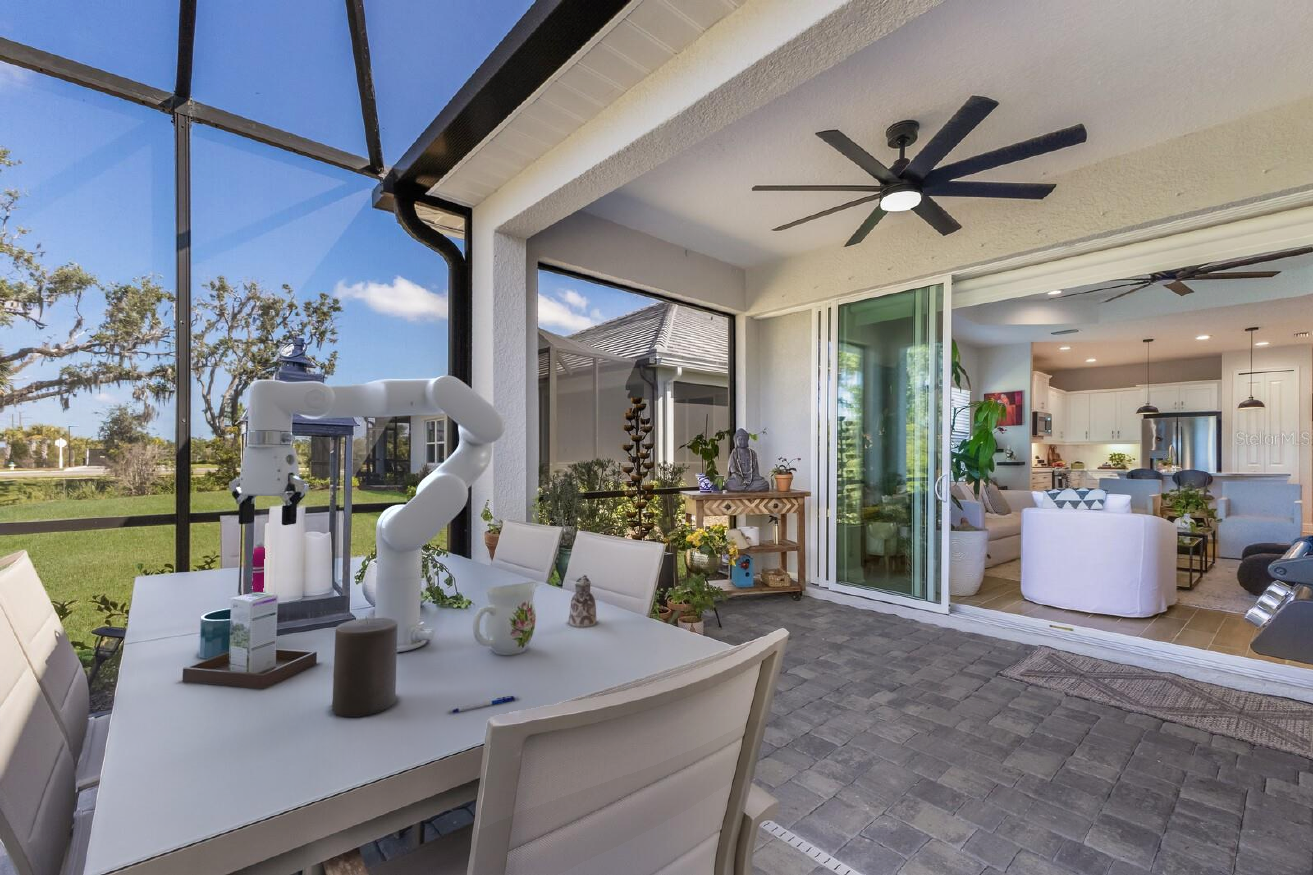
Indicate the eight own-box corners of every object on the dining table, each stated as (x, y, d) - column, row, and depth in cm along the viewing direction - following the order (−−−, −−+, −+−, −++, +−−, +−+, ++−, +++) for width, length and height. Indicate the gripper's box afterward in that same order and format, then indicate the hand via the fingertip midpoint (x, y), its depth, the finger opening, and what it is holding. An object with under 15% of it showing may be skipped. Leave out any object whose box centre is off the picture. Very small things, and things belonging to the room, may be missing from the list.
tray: (316, 664, 117) (317, 651, 117) (262, 689, 104) (263, 675, 104) (243, 658, 120) (244, 646, 120) (182, 681, 107) (182, 668, 107)
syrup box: (277, 666, 114) (280, 593, 114) (247, 677, 108) (250, 599, 109) (256, 663, 116) (259, 590, 116) (226, 673, 110) (229, 597, 111)
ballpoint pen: (513, 699, 102) (513, 693, 102) (515, 701, 101) (515, 695, 101) (452, 712, 96) (452, 706, 96) (453, 714, 96) (454, 709, 96)
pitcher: (456, 657, 122) (458, 592, 123) (519, 636, 137) (521, 578, 138) (490, 668, 116) (492, 600, 117) (553, 645, 131) (554, 585, 132)
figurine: (565, 625, 147) (566, 578, 147) (573, 618, 154) (574, 573, 154) (591, 627, 146) (592, 580, 146) (599, 620, 153) (600, 574, 153)
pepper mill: (256, 622, 145) (260, 543, 146) (233, 620, 147) (236, 542, 148) (280, 615, 152) (283, 539, 153) (258, 613, 154) (261, 538, 155)
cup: (275, 644, 129) (277, 608, 129) (231, 661, 118) (232, 622, 118) (232, 641, 131) (234, 605, 131) (184, 657, 120) (186, 618, 120)
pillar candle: (353, 723, 91) (356, 628, 92) (320, 708, 97) (323, 618, 97) (407, 701, 100) (410, 615, 100) (374, 689, 105) (377, 606, 105)
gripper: (321, 441, 120) (319, 522, 119) (247, 440, 122) (245, 521, 122) (294, 440, 113) (291, 527, 112) (216, 439, 115) (213, 525, 114)
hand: (267, 524), depth 117 cm, fingers open, 9 cm apart
